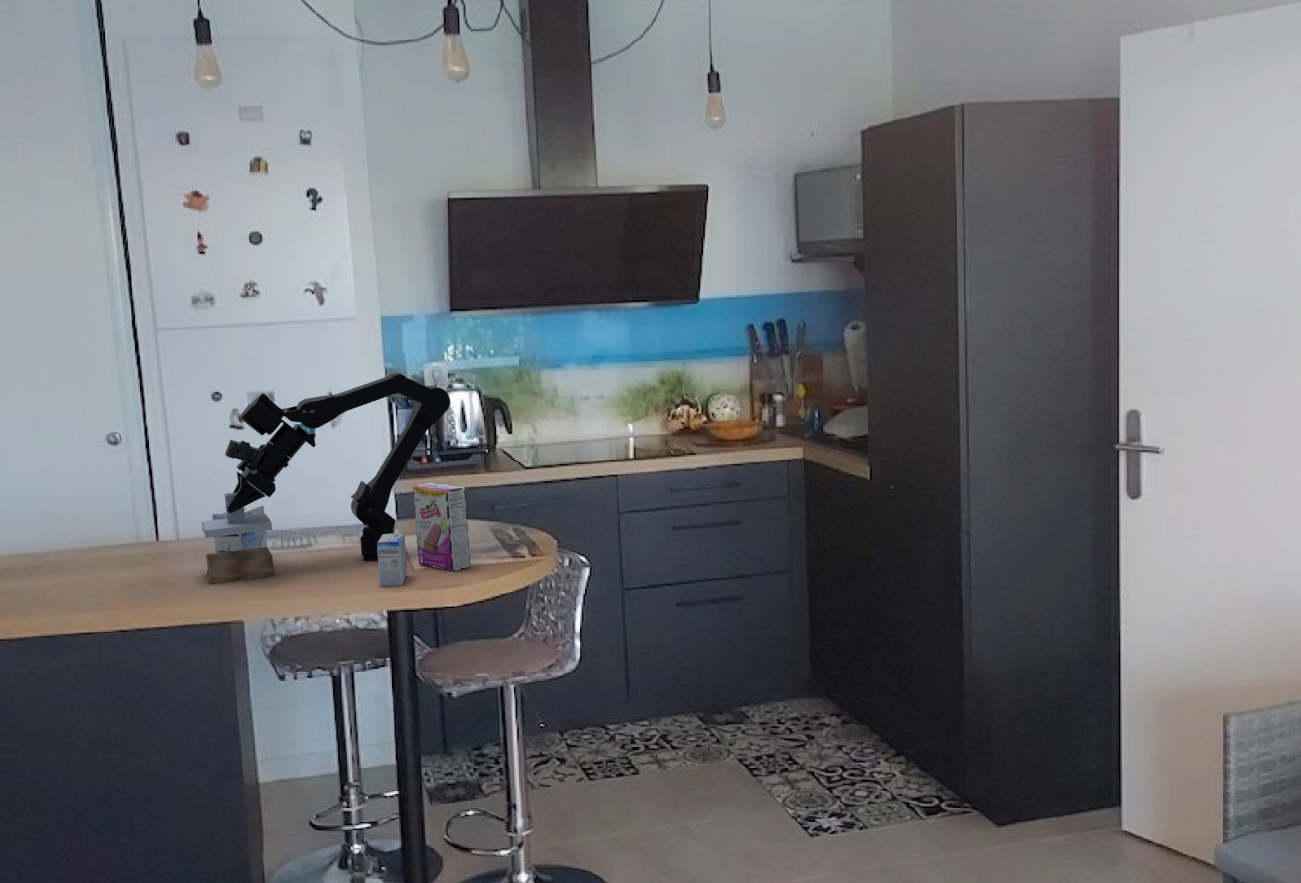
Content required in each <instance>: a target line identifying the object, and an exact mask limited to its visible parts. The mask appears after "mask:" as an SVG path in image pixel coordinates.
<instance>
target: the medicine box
mask: <svg viewBox="0 0 1301 883" xmlns="http://www.w3.org/2000/svg"><path fill="white" fill-rule="evenodd" d="M405 538H406V537H405V533H395V534H383V535H382V536H381V538H380V540H379V541H378V543H377V551H378V559H377V562H378V564H377V565H378V577H379V586H380V587H382V588H383V587H399V586H403V585H404V583H405V580H406V577H407V575H408V571H407V570H408V569H407V554H406V552H407V551H406V550H407V549H406V539H405Z"/></svg>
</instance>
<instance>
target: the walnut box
mask: <svg viewBox="0 0 1301 883" xmlns="http://www.w3.org/2000/svg"><path fill="white" fill-rule="evenodd" d="M205 555H206V556H205V557H206V566H207V569H206V573H207V574H206V575H207V577H208V581H209V584H210V585H213V583H215V584H221V583H227V582H229V583H230V582H237V581H236V580H238V581H242V580H241V579H246V580H251V579H252V580H253V579H259V578H260V577H261V578H267V576H269V577H275V576H274V575H276V571H275V569H274V559H273V555H272V553H271V551H270V549H269V547H268V546H267V547H263V548H254V549H246V550H238V551H229V552H221V553H216V552H215V553H213V552H212V553H207V554H205Z"/></svg>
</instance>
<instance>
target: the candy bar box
mask: <svg viewBox="0 0 1301 883" xmlns="http://www.w3.org/2000/svg"><path fill="white" fill-rule="evenodd" d="M412 491H413V492H412V493H413V494H412V495H413V505H414V508H413V509H414V520H415V531H416V532H415V533H416V544H417V556H418V557H417V558H418V565H419V564H420V566H424V565H426V566H425V567H429V566H436V567H439V568H444V569H449V570H456V569H459V568H462V567H466V566H470V567H471V557H470V556H471V554H470V540H469V529H468V528H469V527H468V526H469V525H468V515H467V514H468V513H467V501H466V498H467V496H466V487H464V486H457V485H450V484H443V483H436V482H427V483H421V484H416V485H413V486H412ZM439 568H438V569H439ZM444 569H443V570H444ZM449 570H448V571H449Z"/></svg>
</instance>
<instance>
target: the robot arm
mask: <svg viewBox="0 0 1301 883" xmlns="http://www.w3.org/2000/svg"><path fill="white" fill-rule="evenodd" d="M396 394H399V395H401V396H403V397H405V398H407V399H410V400H412V401H414V402H413V405H412V408H411V411H410V412H411V413H410V417H409V420H408V422H407V424H406V425H405V426H404V428H403V430H402V431H401V433H400V435H399V437H398V439H396V441H395V443H394V444H393V446H392V448H391V449H390V450H389V453H388V454H387V456H386V457H385V459H384V461H383V462H382V464H381V466H380V467H379V469H378V471H377V472H376V474H375V475H374V477H373V478H372V479H371V480H369V482H368V483H365V482H364V481H363V480H361V481H360V482H359V483H358V484H359V485H358V486H357V489H356V490H355V492H354V494H352V495H351V496H350V498H351V499H352V501H351V503H350V509H351V513H352V514H353V516H354V517H355V518H356V519H357V520H359V521H360V522H361V523H362V524H363V526H364V527H363V529H362V534H361V536H360V538H359V540H360V550H361V557H363V561H373V560H375V561H376V560H377V561H378V551H377V543H378V541H379V540H380V538H381V536H382V535H383V534H396V532H395V531H396V529H395V524H396V522H397V521H396V518H394V517H392V516H391V514H389V513H388V512H386V508H387V506H388V504H389V501H390V500H389V499H390V497H391V493H392V489H393V486H394V485H395V484H396V482H397V480H398V478H399V477H400V476H401V474H402V472H403V470H404V469H405V468H406V466H407V464H408V462H409V461H410V459H411V457H412V456H413V454H414V453H415V451H416V449H417V448H418V446H419V444H421V441H422V439H423V438H424V436H425V434H427V431H429V430H430V429H431V427H433V426H434V425H435V424H436V423H438V421H439V420H440V419H441V418H442V417H443V415H445V413H446V412H447V411H448V410H449V408H450V406H451V398H450V395H449V394H448V391H446V390H445V389H443V388H441V387H438V386H434V385H427V386H426V385H423V384H421V383H419V382H417V381H415V380H412V379H410V378H408V377H407V376H405V375H404V374H403V373H398V372H393V373H390V374H389V375H387V376H384V377H381V378H379V379H376V380H373V381H370V382H368V383H365V384H362V385H359V386H356V387H354V388H351V389H348V390H344V391H342V392H339V393H336V394H334V393H333V394H327V395H320V396H313V397H308V398H304V399H302V400H300V401H299V402H298V403H297V405H294V406H290V407H284V408H281V407H279V406H278V405H277V404H276V403H274V402H273V400H271V398H270V397H269V396H267V394H265V393H264V392H261V393H260V395H259V396H258V397H256V398H255V399H253V401H252V402H251V403H248V405H247V406H246V407H245V408H244V410H243V411H242V413H240V416H239V417H238V418H239V419H240V420H241V421H243V422H244V423H245V424H246V425H248V427H250V428H251V429H252V430H254V431H255V432H257V433H258V434H259V435H260V436H264V435H265V434H267V435H268V436H270V435H272V434H273V433H274V432H275V433H274V434H273V435H272V437H270V438H269V440H268V441H267V442H266V443H263V444H260V446H259V447H254V446H251V443H250V442H249V441H248V442H247V441H245V440H241V441H236V440H233V439H230V440H229V442H228V445H227V448H226V450H225V453H224V454H225V456H226V457H227V458H230V459H233V460H234V459H237V460H239V463H238V464H237V466H236V468H237V469H238V471H236V476H237V478H236V479H237V484H236V486H235V488H234V490H233V492H232V493H236V495H235V497H234V498H233V500H232V502H231V503H230V505H229V507H228V508H227V511H228V512H229V513H233V512H235V511H237V510H239V509H241V508H242V507H244V506H246V505H251V504H252V503H254V502H256V501H258V500H261V499H262V498H265V497H266V496H267V497H268V498H271V497H272V495H273V494H274V493H275V492H276V491H277V489H276V483H275V482H276V477H278V475H279V474H280V473H281V472H282V471H283V469H284V468H285V469H286V468H288V466H289V465H290V463H289V462H290V461H291V460H292V458H294V456H295V455H296V454H297V453H298V451H299V450H300V449H301V448H302V447H303V446H304V445H305V443H307V444H309V445H310V446H311V447H312V448H316V433H314V432H308V431H306V430H305V429H304V428H302V427H301V426H300V425H299V424H295V425H294V426H293V427H292V426H291V425H290V424H289V423H287V422H286V421H285V420H284V419H283V418H284V417H285V418H286V419H287V420H289V421H290V422H291V423H300V424H301V425H302V426H304V427H306V428H308V429H310V430H311V429H319V428H321V427H323V426H324V425H326V424H328V423H329V422H332V421H333V420H335V419H336V418H337V417H339V416H340V415H342V414H344V413H346V412H348V411H350V410H353V409H356V408H359V407H362V406H365V405H367V404H371V403H374V402H376V401H379V400H381V399H384V398H386V397H387V398H388V397H390V396H393V395H396ZM280 425H281V426H280ZM279 426H280V427H279ZM240 471H241V473H240Z"/></svg>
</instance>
